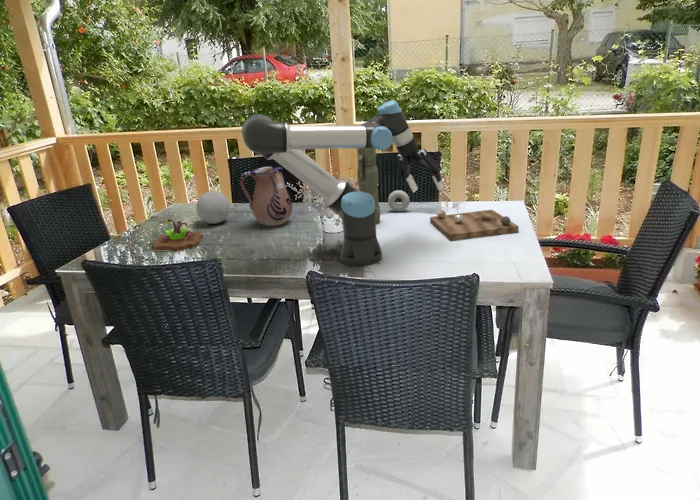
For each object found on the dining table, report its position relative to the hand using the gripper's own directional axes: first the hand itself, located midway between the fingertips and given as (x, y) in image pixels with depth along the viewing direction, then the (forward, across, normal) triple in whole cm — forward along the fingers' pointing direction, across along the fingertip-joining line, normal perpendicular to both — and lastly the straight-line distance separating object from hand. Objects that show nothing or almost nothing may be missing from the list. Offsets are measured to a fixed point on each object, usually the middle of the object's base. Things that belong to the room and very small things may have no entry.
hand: (428, 189), depth 200 cm
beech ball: (+18, +9, -9) cm, 22 cm away
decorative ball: (-18, +90, +46) cm, 102 cm away
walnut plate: (+25, -3, -10) cm, 28 cm away
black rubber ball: (+26, -16, -15) cm, 34 cm away
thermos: (+10, +34, +7) cm, 37 cm away
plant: (-24, +77, +69) cm, 106 cm away
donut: (+17, +36, -11) cm, 41 cm away
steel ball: (+19, -1, -7) cm, 20 cm away
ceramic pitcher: (-8, +67, +33) cm, 75 cm away
